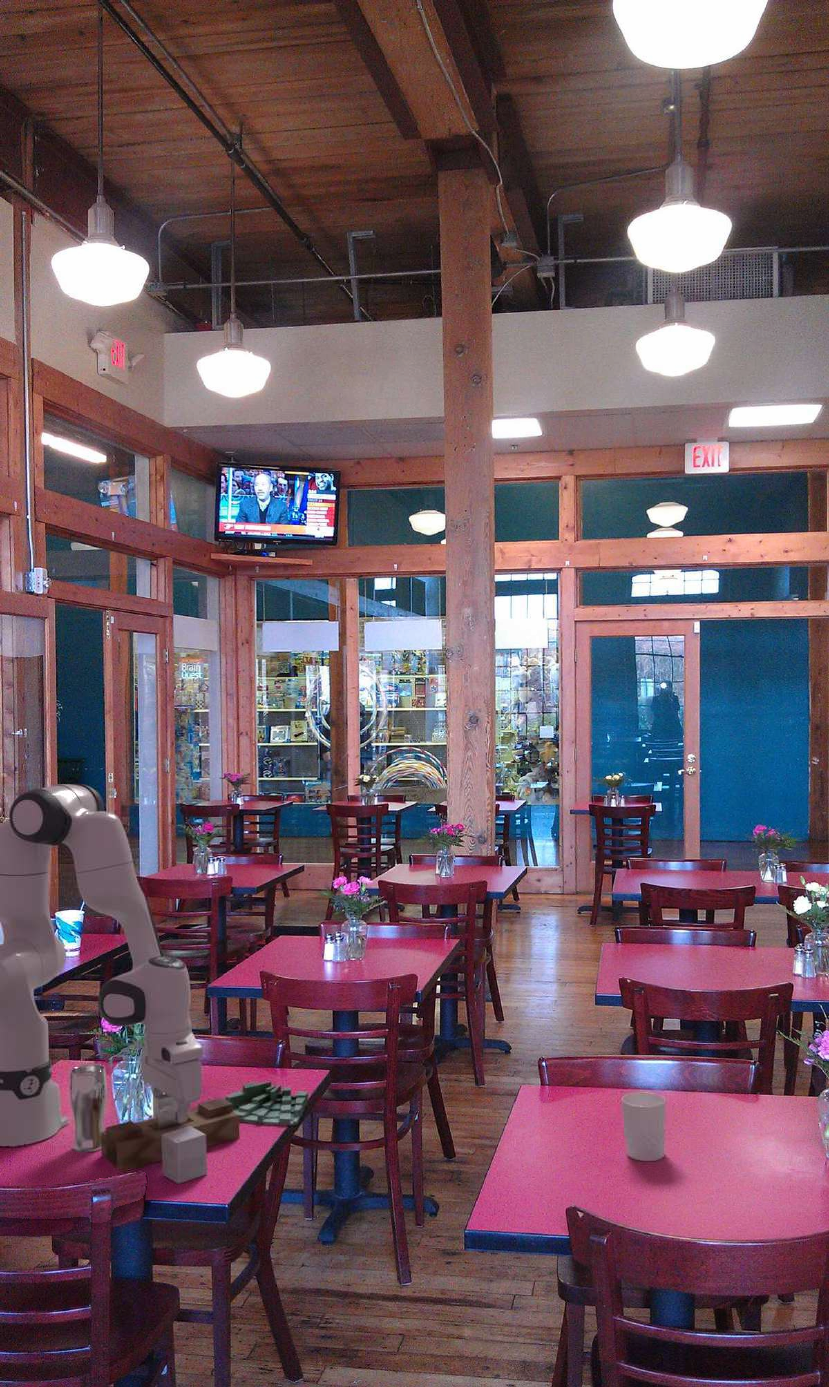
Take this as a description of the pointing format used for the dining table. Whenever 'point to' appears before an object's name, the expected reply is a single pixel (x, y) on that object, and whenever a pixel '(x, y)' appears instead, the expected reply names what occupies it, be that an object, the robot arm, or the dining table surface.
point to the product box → (184, 1154)
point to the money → (268, 1104)
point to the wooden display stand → (144, 1144)
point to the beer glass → (88, 1105)
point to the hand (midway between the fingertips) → (170, 1114)
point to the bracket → (165, 1112)
